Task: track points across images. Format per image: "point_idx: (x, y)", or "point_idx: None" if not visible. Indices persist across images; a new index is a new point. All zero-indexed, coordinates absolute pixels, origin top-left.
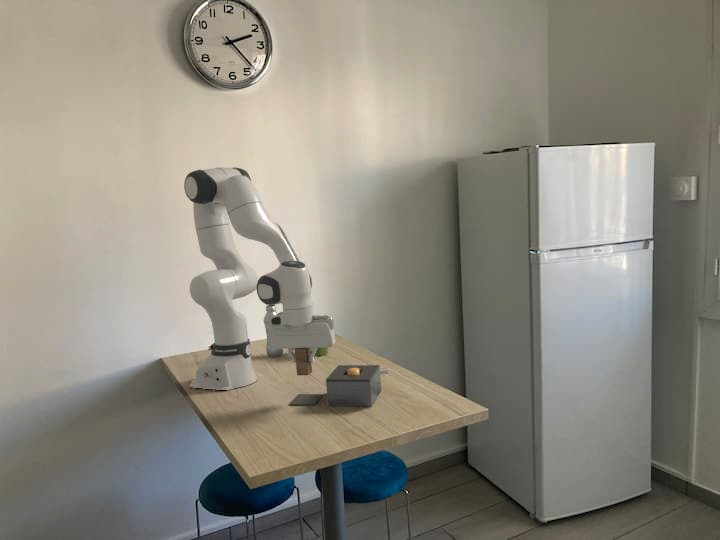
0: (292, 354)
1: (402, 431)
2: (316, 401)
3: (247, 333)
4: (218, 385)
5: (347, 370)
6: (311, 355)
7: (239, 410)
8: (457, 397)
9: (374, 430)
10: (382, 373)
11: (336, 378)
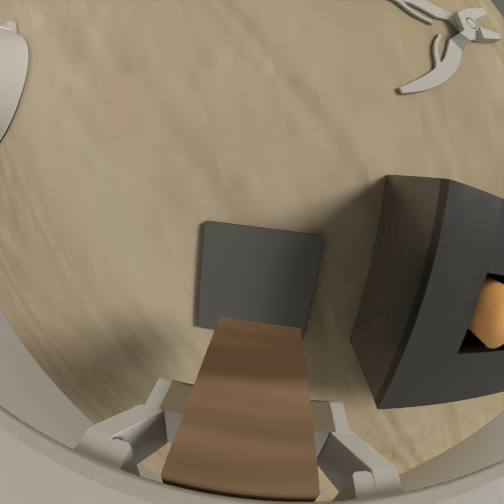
0: (147, 451)
1: (468, 434)
2: (305, 316)
3: None
4: None
5: (485, 333)
6: (329, 471)
7: (66, 332)
8: None
9: (431, 442)
10: (485, 41)
11: (422, 397)
